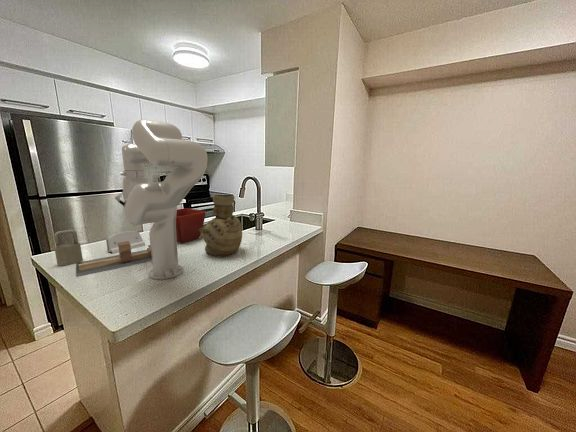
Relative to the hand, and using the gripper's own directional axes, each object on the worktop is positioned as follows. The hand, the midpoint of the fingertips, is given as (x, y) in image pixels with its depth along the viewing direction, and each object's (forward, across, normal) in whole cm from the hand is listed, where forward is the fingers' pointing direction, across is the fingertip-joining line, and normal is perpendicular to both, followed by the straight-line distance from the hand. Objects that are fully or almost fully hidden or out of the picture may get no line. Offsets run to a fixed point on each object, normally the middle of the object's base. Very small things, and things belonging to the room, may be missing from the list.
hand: (139, 213), depth 108 cm
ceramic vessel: (+22, +33, -15) cm, 42 cm away
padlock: (+22, -26, +15) cm, 37 cm away
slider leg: (+20, -7, +2) cm, 22 cm away
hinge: (+22, -4, +23) cm, 32 cm away
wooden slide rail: (+22, -8, +3) cm, 23 cm away
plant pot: (+22, +25, +21) cm, 39 cm away
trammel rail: (+21, -8, +2) cm, 22 cm away
